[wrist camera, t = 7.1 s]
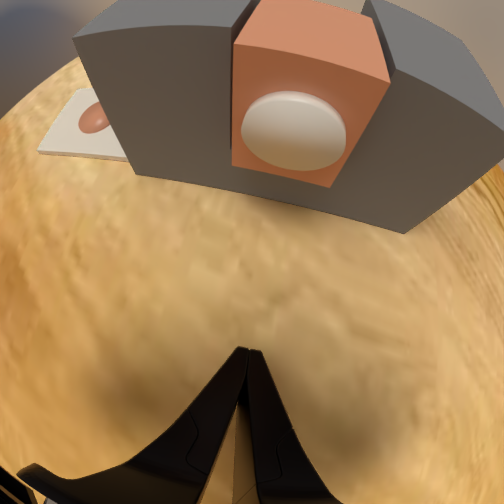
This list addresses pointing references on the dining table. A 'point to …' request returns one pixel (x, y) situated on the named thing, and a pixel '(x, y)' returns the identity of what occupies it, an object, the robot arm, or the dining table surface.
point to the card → (82, 130)
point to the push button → (304, 88)
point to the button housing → (220, 109)
